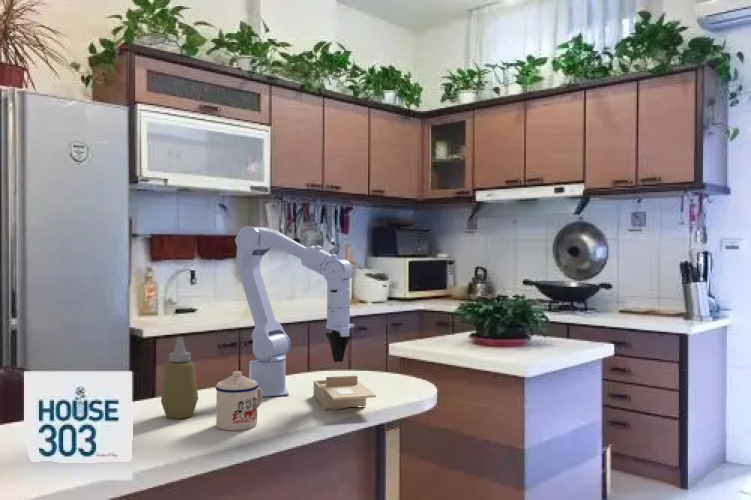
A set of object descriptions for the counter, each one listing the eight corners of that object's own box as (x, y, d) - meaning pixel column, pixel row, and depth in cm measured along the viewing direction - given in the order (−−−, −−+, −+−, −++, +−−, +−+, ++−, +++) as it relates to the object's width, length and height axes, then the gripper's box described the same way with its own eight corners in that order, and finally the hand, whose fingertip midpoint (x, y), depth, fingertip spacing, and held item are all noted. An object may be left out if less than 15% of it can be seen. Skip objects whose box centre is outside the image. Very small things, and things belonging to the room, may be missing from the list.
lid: (320, 386, 156) (320, 376, 156) (359, 383, 159) (359, 374, 158) (333, 400, 142) (333, 389, 142) (375, 397, 145) (375, 386, 145)
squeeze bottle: (160, 413, 146) (160, 335, 146) (196, 410, 149) (196, 333, 149) (161, 422, 139) (161, 340, 139) (199, 419, 142) (199, 338, 141)
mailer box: (313, 396, 163) (313, 380, 163) (350, 393, 166) (351, 378, 166) (325, 410, 150) (325, 393, 150) (365, 407, 153) (365, 390, 153)
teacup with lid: (235, 434, 131) (235, 378, 131) (206, 426, 136) (206, 372, 136) (276, 421, 141) (276, 368, 140) (247, 414, 146) (247, 364, 146)
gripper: (361, 309, 153) (361, 365, 153) (346, 304, 167) (346, 355, 167) (333, 310, 151) (332, 367, 151) (320, 304, 165) (320, 356, 165)
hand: (338, 361), depth 159 cm, fingers closed
